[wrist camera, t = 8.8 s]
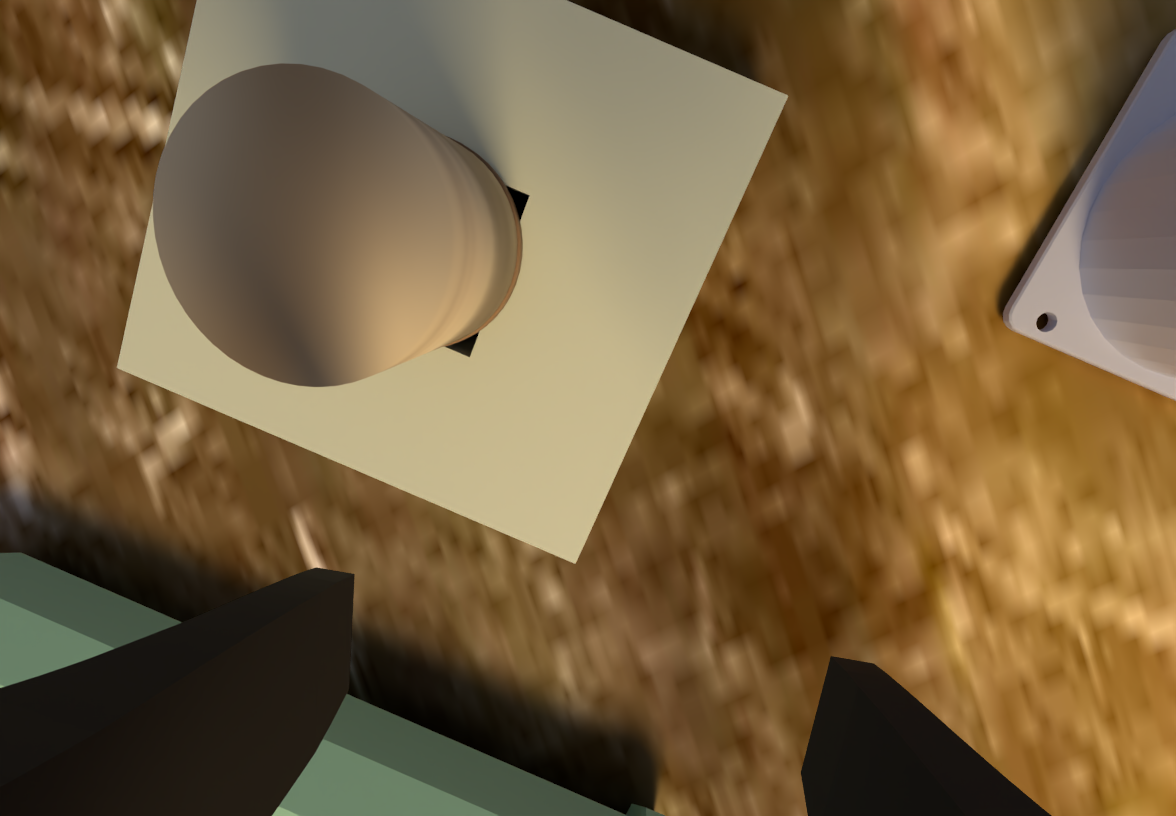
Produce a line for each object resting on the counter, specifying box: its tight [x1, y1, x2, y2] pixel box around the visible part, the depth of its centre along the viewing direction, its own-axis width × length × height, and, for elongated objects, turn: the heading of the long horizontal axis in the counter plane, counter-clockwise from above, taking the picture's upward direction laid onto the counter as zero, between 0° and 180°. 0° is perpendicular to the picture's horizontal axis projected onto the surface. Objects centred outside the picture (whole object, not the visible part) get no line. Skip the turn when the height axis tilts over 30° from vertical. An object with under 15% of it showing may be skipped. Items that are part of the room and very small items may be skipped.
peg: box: [153, 63, 523, 387], centre depth 14 cm, size 5×5×8 cm
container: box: [0, 553, 665, 816], centre depth 20 cm, size 6×6×25 cm
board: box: [117, 0, 788, 564], centre depth 17 cm, size 14×13×2 cm
